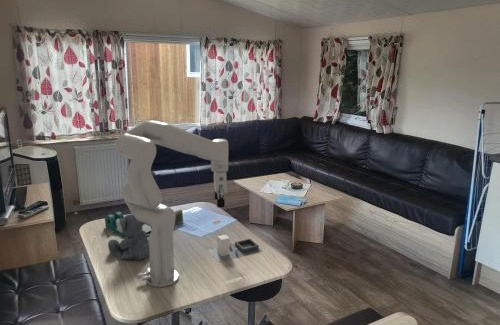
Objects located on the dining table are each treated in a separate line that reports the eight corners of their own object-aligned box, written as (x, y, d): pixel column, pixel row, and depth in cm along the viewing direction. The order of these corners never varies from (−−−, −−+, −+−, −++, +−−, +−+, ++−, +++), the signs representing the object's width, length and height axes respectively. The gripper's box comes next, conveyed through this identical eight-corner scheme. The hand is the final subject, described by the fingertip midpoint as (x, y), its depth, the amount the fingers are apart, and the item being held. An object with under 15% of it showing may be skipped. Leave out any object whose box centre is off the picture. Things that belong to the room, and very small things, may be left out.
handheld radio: (184, 222, 210) (146, 238, 191) (179, 220, 212) (142, 236, 193) (183, 210, 209) (145, 225, 189) (179, 209, 211) (141, 223, 191)
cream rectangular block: (221, 256, 173) (221, 240, 171) (217, 252, 177) (217, 236, 174) (229, 254, 175) (229, 238, 173) (225, 250, 178) (225, 234, 176)
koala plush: (140, 240, 188) (138, 202, 183) (161, 253, 176) (160, 213, 171) (106, 252, 176) (103, 212, 171) (127, 267, 164) (124, 225, 159)
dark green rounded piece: (105, 228, 201) (104, 214, 198) (117, 224, 206) (116, 210, 204) (126, 238, 190) (125, 223, 188) (138, 234, 195) (137, 219, 193)
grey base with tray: (218, 264, 169) (219, 256, 168) (207, 252, 179) (207, 245, 178) (262, 252, 179) (262, 246, 178) (249, 242, 189) (249, 235, 188)
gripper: (231, 172, 166) (230, 209, 170) (225, 161, 182) (225, 196, 186) (213, 172, 164) (213, 210, 169) (209, 162, 180) (209, 196, 185)
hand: (219, 203), depth 178 cm, fingers open, 9 cm apart
